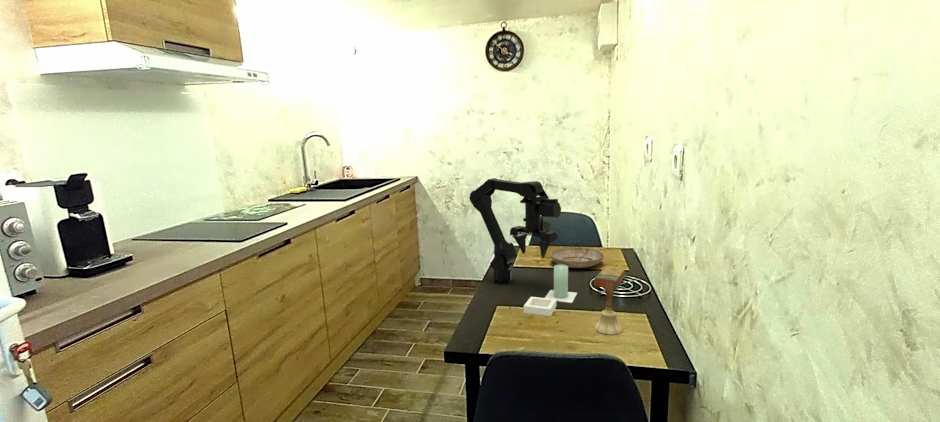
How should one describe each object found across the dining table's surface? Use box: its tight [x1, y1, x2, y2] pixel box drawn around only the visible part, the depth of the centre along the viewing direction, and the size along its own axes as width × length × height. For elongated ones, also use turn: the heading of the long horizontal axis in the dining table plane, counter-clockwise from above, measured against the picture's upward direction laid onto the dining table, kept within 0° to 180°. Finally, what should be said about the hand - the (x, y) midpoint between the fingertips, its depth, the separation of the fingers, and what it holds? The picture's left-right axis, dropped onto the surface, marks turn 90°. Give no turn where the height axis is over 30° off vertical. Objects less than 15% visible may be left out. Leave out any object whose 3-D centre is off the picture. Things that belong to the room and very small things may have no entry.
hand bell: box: [594, 279, 623, 336], centre depth 142 cm, size 8×8×16 cm
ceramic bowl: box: [550, 247, 605, 269], centre depth 209 cm, size 23×24×5 cm
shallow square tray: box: [523, 296, 557, 317], centre depth 159 cm, size 9×9×3 cm
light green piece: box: [553, 264, 569, 298], centre depth 169 cm, size 5×5×11 cm
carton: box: [594, 265, 626, 290], centre depth 185 cm, size 8×16×4 cm, turn 150°
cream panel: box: [544, 289, 578, 304], centre depth 170 cm, size 10×10×1 cm
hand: (533, 255), depth 179 cm, fingers open, 9 cm apart
